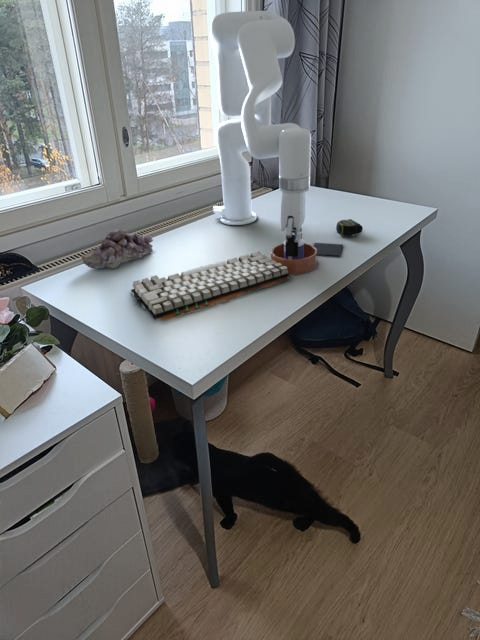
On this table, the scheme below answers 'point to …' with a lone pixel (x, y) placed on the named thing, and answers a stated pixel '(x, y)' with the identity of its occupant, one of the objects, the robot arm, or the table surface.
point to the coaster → (328, 249)
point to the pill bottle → (300, 247)
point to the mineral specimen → (118, 250)
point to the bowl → (299, 264)
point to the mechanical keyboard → (207, 285)
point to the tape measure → (348, 227)
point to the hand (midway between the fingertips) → (293, 250)
